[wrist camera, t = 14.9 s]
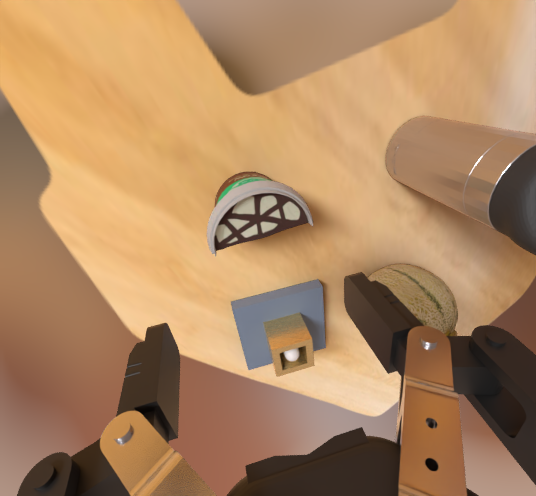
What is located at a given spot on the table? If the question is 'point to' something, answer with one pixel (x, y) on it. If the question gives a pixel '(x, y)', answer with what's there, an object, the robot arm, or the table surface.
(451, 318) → the cantaloupe
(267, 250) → the table surface
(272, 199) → the food container
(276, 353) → the brass collar
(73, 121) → the table surface
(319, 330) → the post stand
